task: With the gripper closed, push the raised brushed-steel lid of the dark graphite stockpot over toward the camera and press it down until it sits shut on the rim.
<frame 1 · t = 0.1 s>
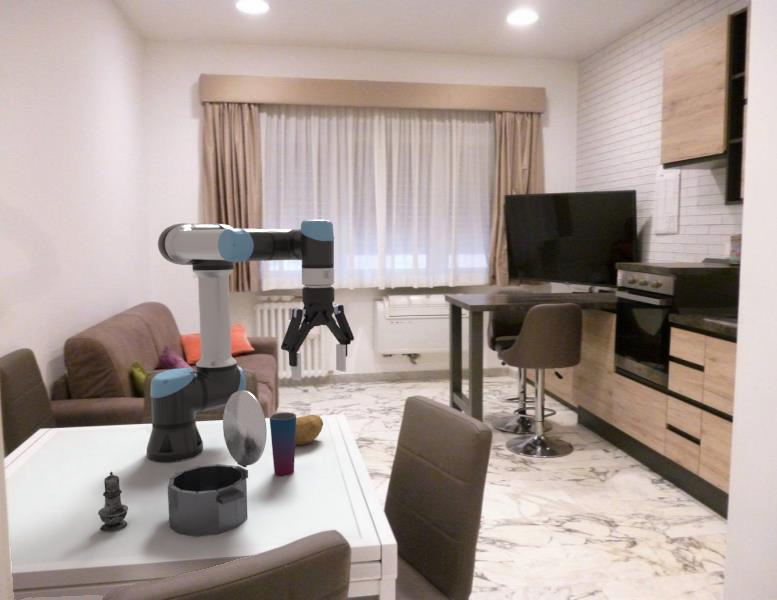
hand: (319, 375, 147), 28 cm above the table, fingers open, 13 cm apart
lid: (247, 427, 139), point 18 cm above the table, hinge at 95.0°
cup: (284, 473, 160), on the table
pot: (209, 518, 134), on the table
potato: (304, 443, 183), on the table
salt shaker: (114, 527, 130), on the table
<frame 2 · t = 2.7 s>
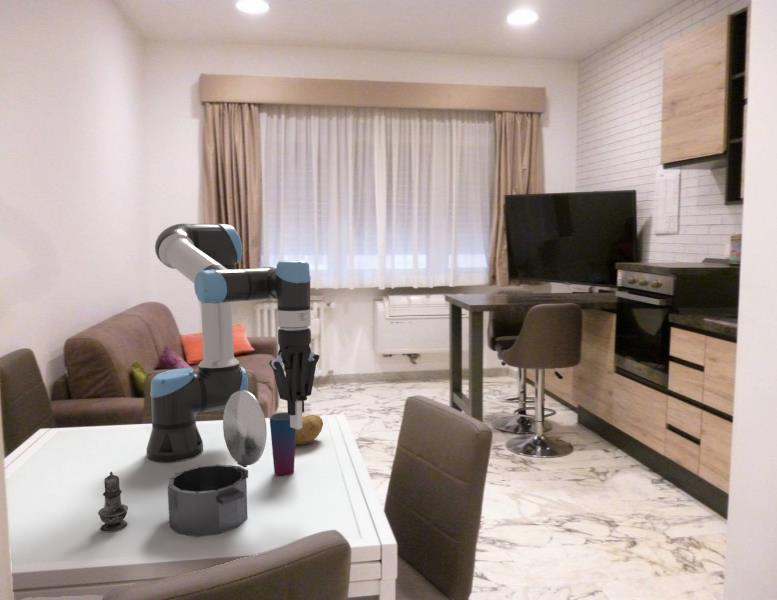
hand: (296, 427, 144), 16 cm above the table, fingers closed
nothing on the table moved.
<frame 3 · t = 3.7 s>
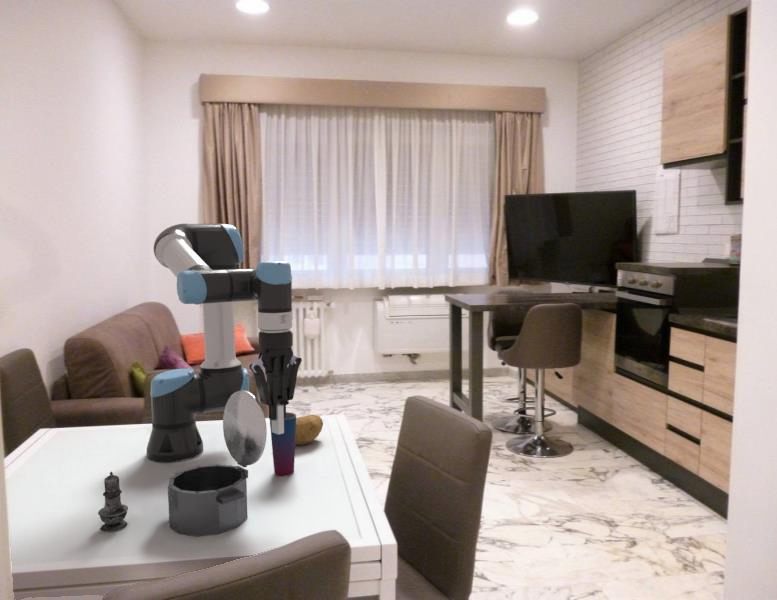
hand: (277, 432, 141), 16 cm above the table, fingers closed
nothing on the table moved.
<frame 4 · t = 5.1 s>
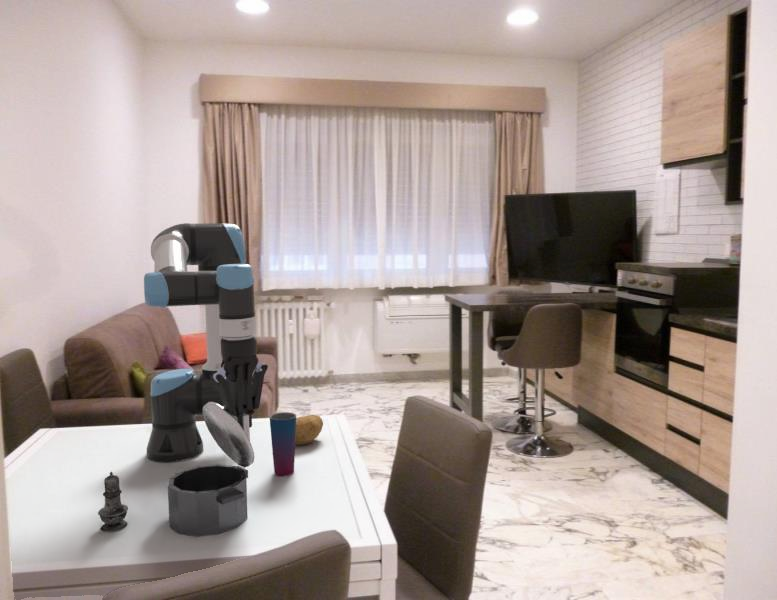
hand: (244, 443, 134), 16 cm above the table, fingers closed
lid: (231, 432, 136), point 18 cm above the table, hinge at 67.0°, touching gripper
everything else where it was.
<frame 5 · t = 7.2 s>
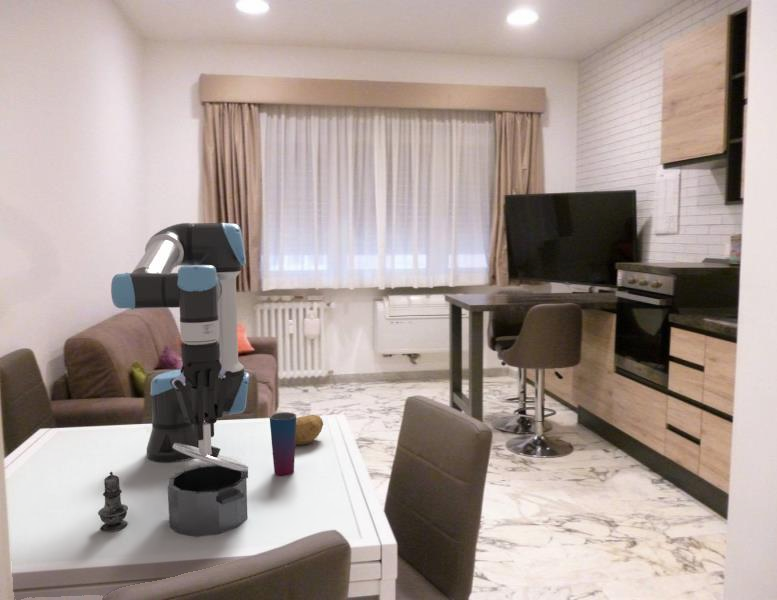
hand: (205, 453, 128), 16 cm above the table, fingers closed
lid: (213, 453, 134), point 14 cm above the table, hinge at 26.7°, touching gripper
everything else where it was.
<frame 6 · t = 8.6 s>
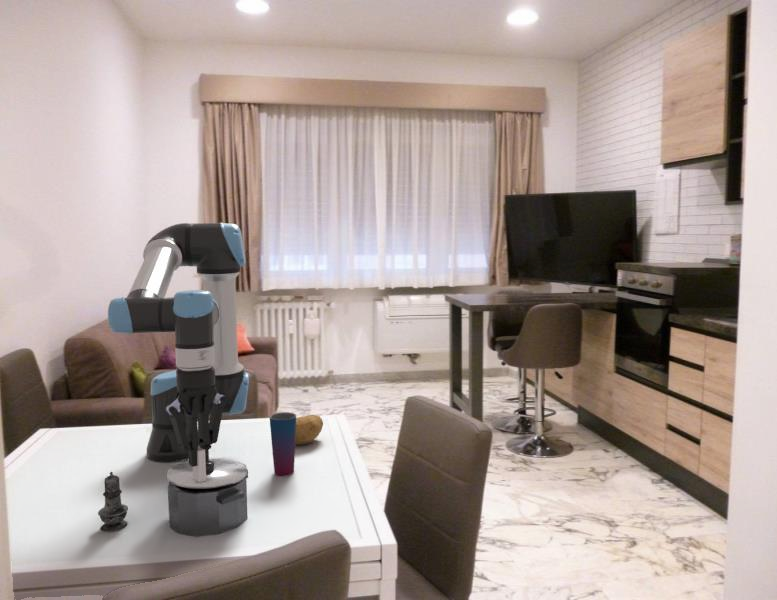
hand: (199, 479, 127), 11 cm above the table, fingers closed
lid: (208, 468, 133), point 11 cm above the table, hinge at 3.7°, touching gripper
everything else where it was.
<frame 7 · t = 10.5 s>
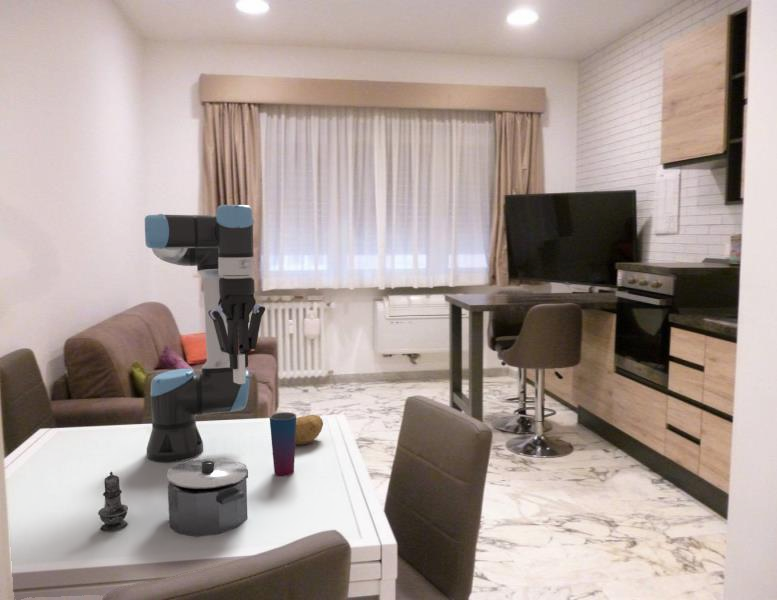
hand: (239, 382, 137), 29 cm above the table, fingers closed
lid: (208, 468, 133), point 11 cm above the table, hinge at 3.7°
everything else where it was.
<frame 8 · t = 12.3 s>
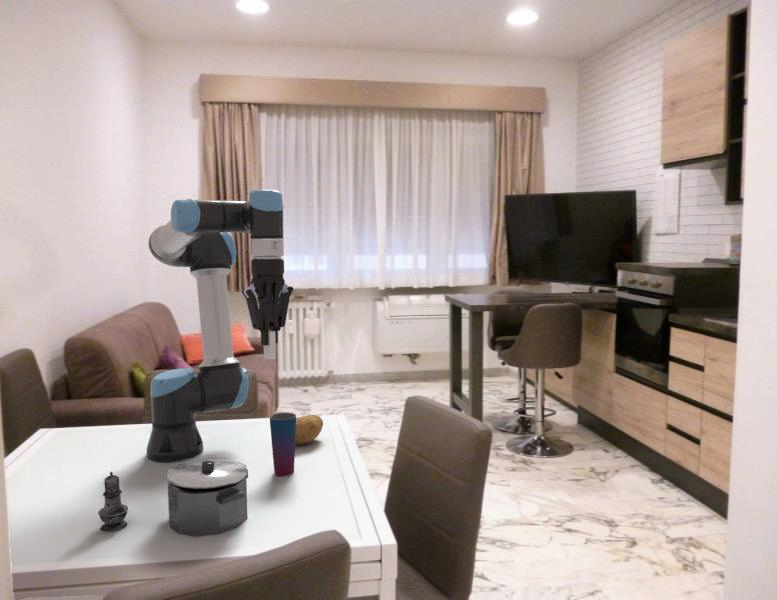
hand: (269, 358, 145), 32 cm above the table, fingers closed
nothing on the table moved.
at the end: lid at +4° (first picture: +95°); lid touching nothing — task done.
